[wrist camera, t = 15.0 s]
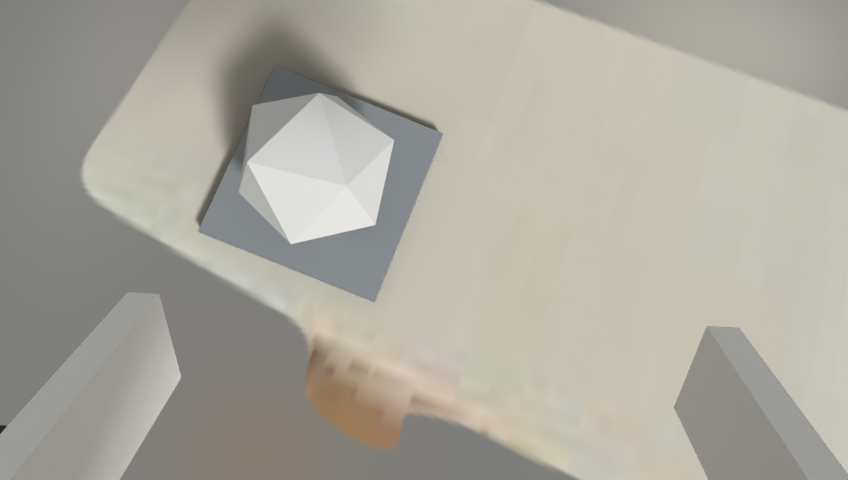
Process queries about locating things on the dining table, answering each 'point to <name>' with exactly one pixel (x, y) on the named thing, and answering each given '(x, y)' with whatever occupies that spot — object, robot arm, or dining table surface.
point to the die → (314, 166)
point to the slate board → (344, 252)
